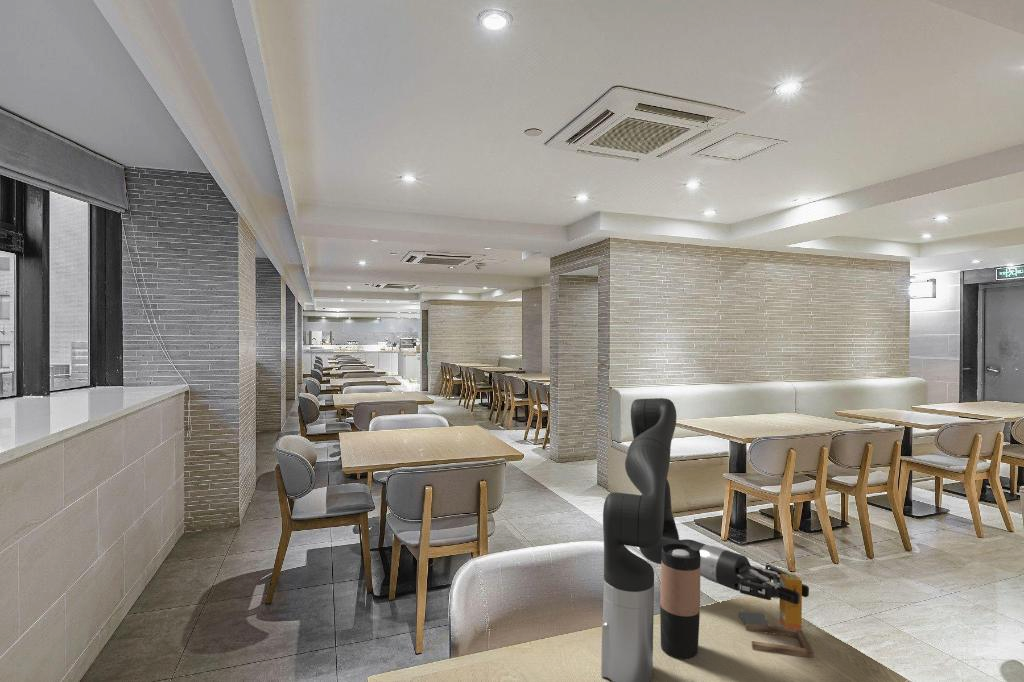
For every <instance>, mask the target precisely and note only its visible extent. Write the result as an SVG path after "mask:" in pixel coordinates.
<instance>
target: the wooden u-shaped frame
mask: <svg viewBox="0 0 1024 682" xmlns="http://www.w3.org/2000/svg"><path fill="white" fill-rule="evenodd" d="M744 628H745V630H746V631H752V632H757V631H758V633H765V632H767V633H766V634H773V633H775V634H773V635H780V634H783V635H782V636H787V635H790V636H789V637H794V636H795V637H796V638H797V639H798V642H799V644H800V645H801V647H798V646H790V645H785V644H784V645H783V644H775V643H770V642H769V643H768V642H761V641H754V640H751V648H752V650H756V651H763V652H768V653H769V652H771V653H777V654H784V655H792V656H796V657H797V656H799V657H804V658H805V657H806V658H810V659H811V658H815V652H814V650H813V649H812V647H811V644H810V643H809V640H808V639H807V638H806V637H807V636H806V635H805V634H804V632H803V630H802V629H801V630H800V629H786V628H785V627H784V626H783V627H782V626H777V625H769V626H768V625H761V624H753V623H746V622H745V625H744Z"/></svg>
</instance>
